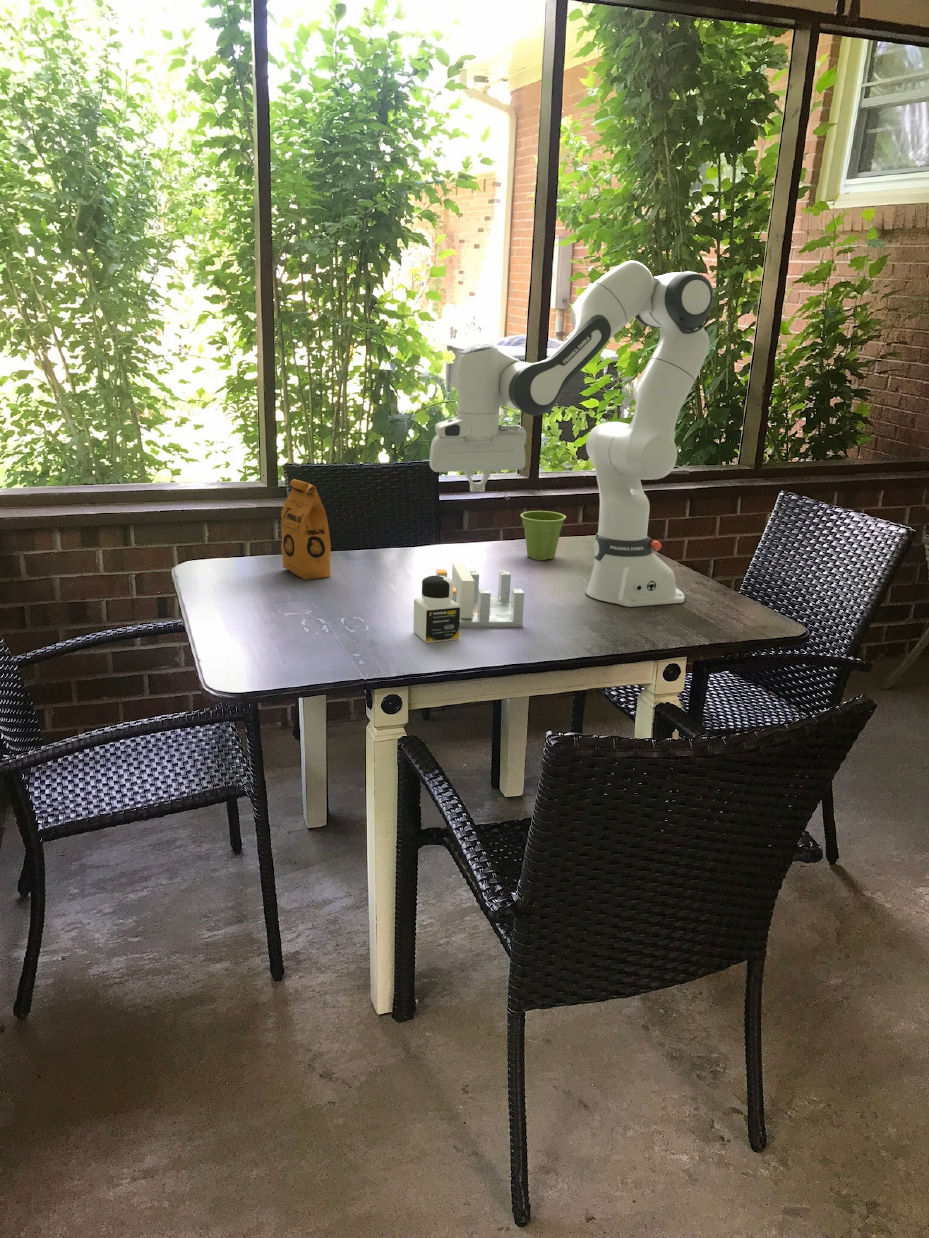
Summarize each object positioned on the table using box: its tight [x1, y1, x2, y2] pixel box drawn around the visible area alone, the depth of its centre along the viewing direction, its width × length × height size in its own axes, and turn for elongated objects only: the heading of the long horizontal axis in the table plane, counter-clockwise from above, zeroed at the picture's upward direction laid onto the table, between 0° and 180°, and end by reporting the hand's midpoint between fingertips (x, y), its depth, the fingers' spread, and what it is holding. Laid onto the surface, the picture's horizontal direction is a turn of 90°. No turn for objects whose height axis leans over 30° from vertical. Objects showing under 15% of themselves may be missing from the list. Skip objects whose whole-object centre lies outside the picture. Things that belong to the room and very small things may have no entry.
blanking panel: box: [451, 562, 474, 618], centre depth 204 cm, size 2×14×8 cm, turn 9°
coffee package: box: [280, 478, 332, 581], centre depth 228 cm, size 10×12×22 cm
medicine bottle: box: [412, 575, 460, 644], centre depth 190 cm, size 7×7×12 cm
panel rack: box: [435, 568, 525, 629], centre depth 205 cm, size 16×18×8 cm
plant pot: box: [520, 510, 567, 561], centre depth 253 cm, size 12×12×11 cm
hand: (477, 491), depth 205 cm, fingers closed
